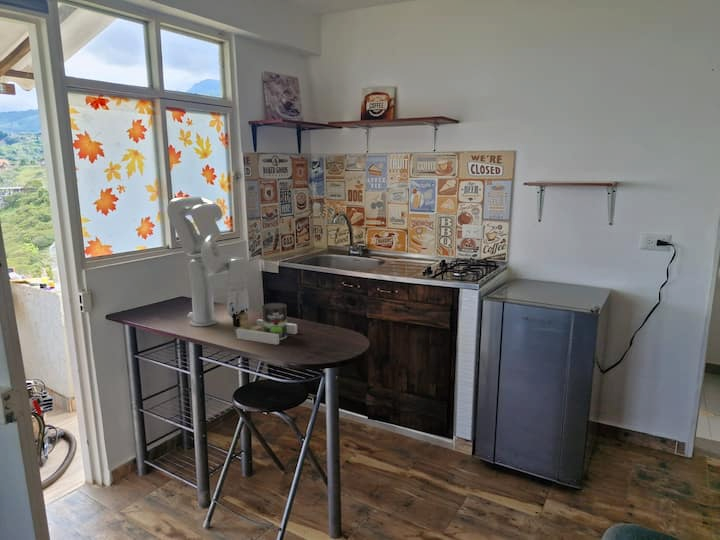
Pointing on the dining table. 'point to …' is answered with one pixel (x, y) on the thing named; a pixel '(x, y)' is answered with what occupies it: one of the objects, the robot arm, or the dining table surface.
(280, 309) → the coffee can
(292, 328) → the white rectangular posts
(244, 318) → the wooden rectangular block
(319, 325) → the dining table surface
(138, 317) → the dining table surface
